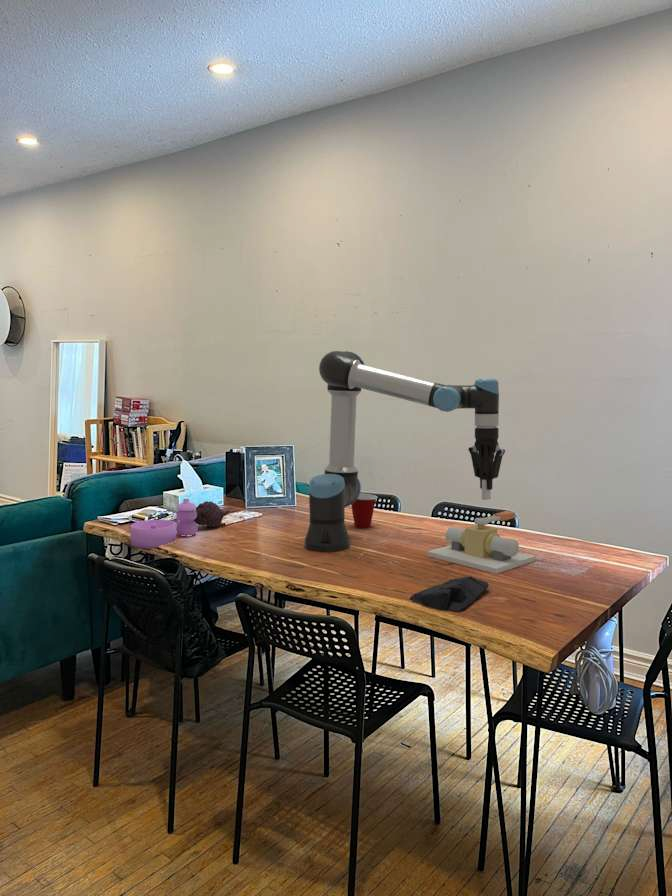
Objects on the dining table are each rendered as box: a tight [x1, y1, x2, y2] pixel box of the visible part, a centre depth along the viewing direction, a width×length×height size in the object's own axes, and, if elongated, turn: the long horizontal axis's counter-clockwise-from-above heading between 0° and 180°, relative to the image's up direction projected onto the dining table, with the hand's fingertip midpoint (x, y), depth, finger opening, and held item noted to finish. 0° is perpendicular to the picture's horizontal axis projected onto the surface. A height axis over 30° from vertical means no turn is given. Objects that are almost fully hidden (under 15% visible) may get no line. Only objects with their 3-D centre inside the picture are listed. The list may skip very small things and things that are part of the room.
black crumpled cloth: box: [409, 575, 489, 613], centre depth 181 cm, size 15×22×5 cm
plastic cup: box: [350, 492, 379, 529], centre depth 261 cm, size 11×11×12 cm
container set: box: [129, 498, 199, 549], centre depth 242 cm, size 25×15×13 cm, turn 136°
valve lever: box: [474, 510, 516, 526], centre depth 219 cm, size 18×4×2 cm, turn 131°
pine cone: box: [194, 500, 230, 528], centre depth 260 cm, size 18×10×10 cm, turn 136°
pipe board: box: [427, 525, 536, 574], centre depth 216 cm, size 20×26×11 cm
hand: (486, 499), depth 227 cm, fingers closed
